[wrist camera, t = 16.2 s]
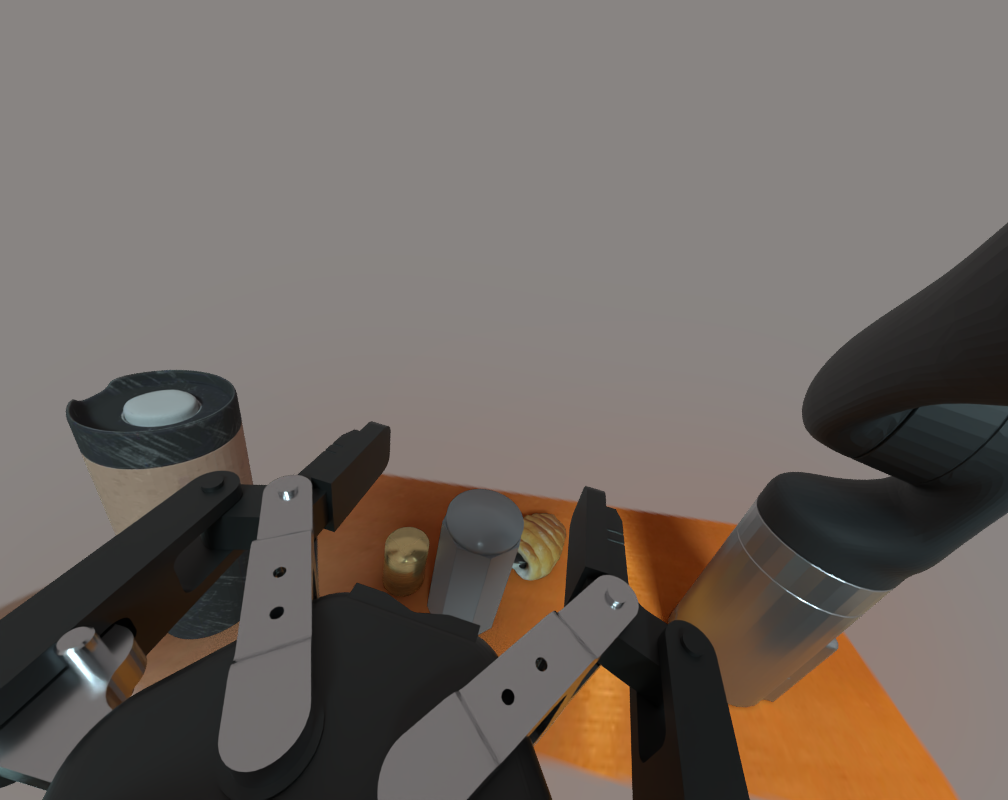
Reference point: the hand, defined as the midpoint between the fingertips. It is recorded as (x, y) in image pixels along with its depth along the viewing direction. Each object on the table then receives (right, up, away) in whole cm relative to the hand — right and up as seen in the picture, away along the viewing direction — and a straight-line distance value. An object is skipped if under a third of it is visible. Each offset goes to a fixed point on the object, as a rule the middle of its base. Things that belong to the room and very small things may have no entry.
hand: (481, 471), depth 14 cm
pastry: (+4, -15, +28) cm, 32 cm away
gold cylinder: (-9, -15, +22) cm, 28 cm away
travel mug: (-24, -14, +17) cm, 33 cm away
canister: (-3, -17, +21) cm, 27 cm away
